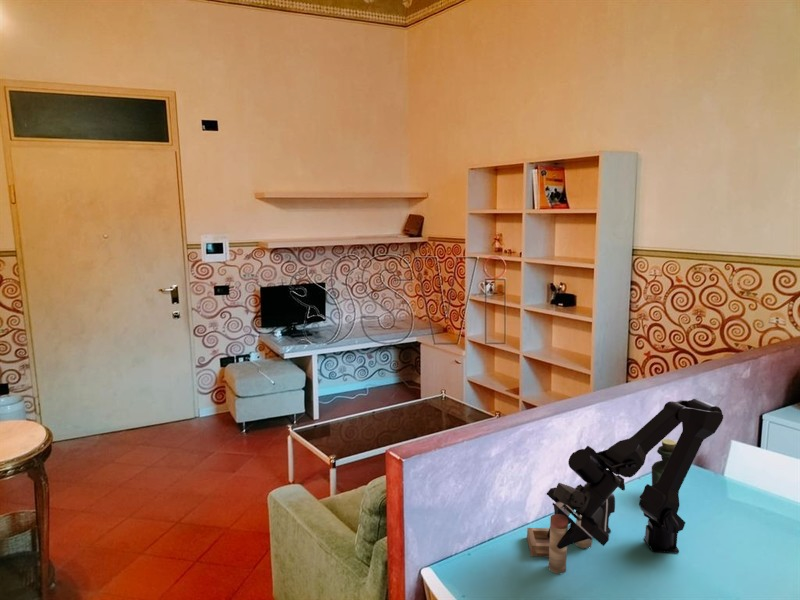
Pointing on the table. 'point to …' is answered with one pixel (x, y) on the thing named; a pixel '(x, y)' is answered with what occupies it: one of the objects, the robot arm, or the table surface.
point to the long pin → (556, 533)
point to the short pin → (584, 541)
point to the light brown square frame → (538, 541)
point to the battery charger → (605, 514)
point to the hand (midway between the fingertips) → (553, 542)
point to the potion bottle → (665, 455)
